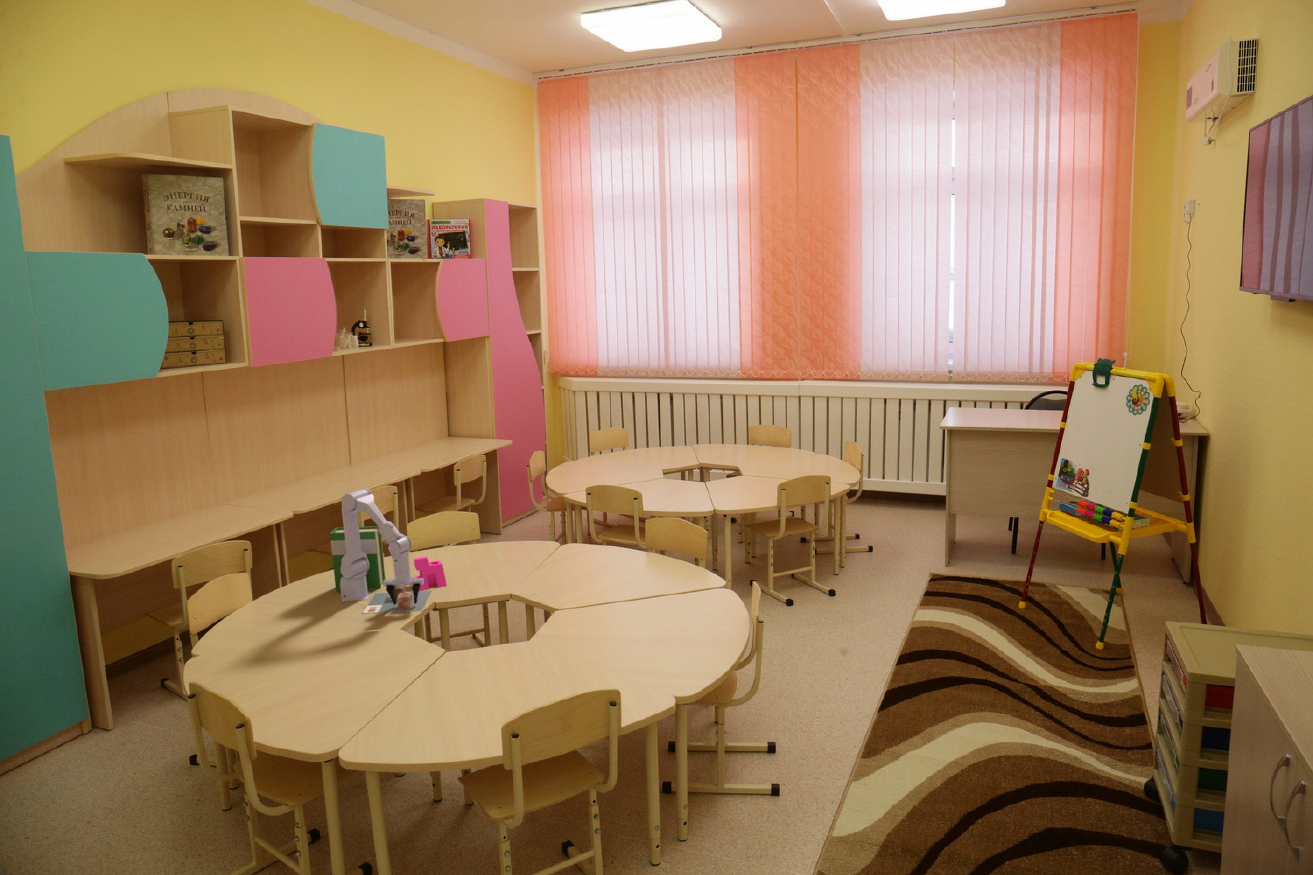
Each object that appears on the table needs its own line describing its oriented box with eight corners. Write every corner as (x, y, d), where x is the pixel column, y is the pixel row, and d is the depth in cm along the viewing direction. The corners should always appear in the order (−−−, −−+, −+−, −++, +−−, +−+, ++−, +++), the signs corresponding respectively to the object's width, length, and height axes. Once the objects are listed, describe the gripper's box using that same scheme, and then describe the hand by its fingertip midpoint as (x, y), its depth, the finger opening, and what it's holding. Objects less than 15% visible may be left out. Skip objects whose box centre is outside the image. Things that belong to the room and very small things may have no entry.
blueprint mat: (361, 615, 329) (361, 613, 329) (375, 594, 349) (375, 593, 349) (422, 611, 330) (421, 610, 330) (431, 591, 350) (431, 590, 350)
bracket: (416, 582, 361) (413, 558, 359) (441, 577, 365) (439, 554, 363) (420, 591, 350) (418, 567, 348) (446, 587, 354) (444, 562, 352)
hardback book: (385, 582, 362) (380, 526, 357) (380, 589, 354) (374, 531, 350) (342, 584, 362) (336, 527, 357) (336, 590, 354) (329, 533, 350)
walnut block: (390, 598, 343) (389, 589, 342) (393, 593, 348) (392, 584, 347) (403, 598, 343) (402, 588, 342) (406, 593, 348) (405, 583, 347)
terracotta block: (398, 608, 332) (397, 597, 332) (400, 604, 337) (399, 593, 336) (410, 608, 333) (409, 596, 332) (413, 603, 337) (411, 592, 336)
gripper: (379, 573, 327) (383, 608, 330) (419, 571, 328) (422, 606, 331) (384, 567, 334) (387, 601, 337) (423, 565, 335) (426, 598, 338)
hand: (405, 603), depth 334 cm, fingers open, 7 cm apart
